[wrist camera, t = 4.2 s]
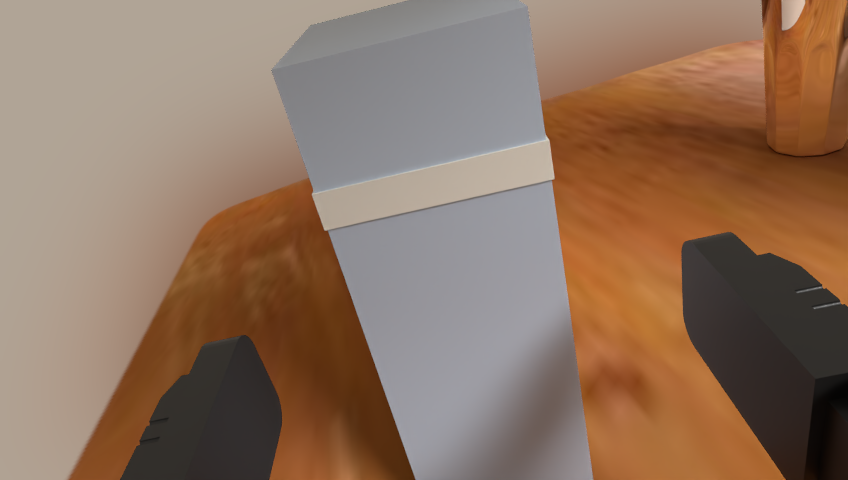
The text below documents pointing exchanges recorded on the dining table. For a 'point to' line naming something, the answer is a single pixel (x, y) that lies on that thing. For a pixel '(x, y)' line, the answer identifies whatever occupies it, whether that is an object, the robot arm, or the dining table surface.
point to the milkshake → (806, 75)
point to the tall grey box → (446, 229)
